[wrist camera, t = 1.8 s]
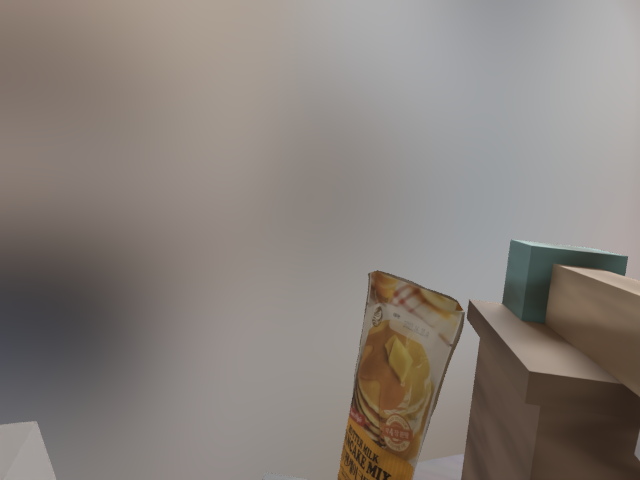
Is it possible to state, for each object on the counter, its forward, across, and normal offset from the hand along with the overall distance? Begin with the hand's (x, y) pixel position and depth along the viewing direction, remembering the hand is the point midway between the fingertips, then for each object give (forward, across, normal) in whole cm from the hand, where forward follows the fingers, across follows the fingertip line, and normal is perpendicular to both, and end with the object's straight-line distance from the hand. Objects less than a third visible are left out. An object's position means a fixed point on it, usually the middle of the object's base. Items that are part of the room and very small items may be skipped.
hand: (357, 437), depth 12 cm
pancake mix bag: (+37, +6, -48) cm, 61 cm away
